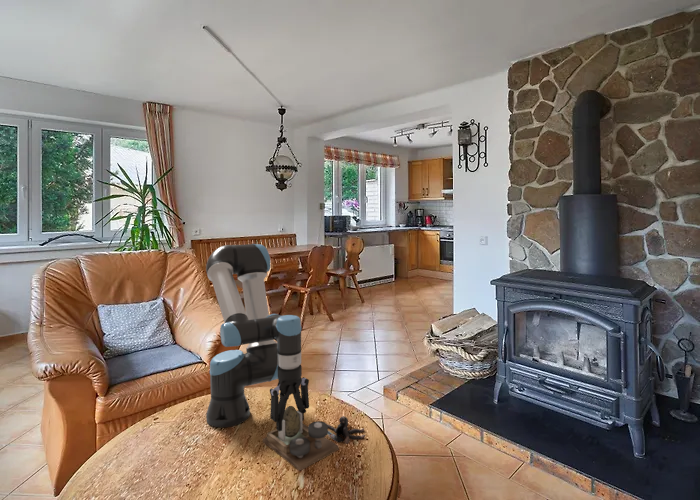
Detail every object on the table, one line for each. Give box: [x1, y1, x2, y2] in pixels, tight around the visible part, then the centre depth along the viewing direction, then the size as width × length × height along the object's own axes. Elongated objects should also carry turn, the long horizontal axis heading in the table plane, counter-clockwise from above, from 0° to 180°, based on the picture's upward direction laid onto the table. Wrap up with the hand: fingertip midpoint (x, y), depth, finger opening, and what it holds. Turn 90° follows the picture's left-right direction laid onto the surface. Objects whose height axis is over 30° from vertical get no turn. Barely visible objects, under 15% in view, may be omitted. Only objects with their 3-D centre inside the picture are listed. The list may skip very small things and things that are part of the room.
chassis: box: [262, 422, 340, 471], centre depth 125 cm, size 20×15×6 cm
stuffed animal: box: [326, 415, 366, 444], centre depth 133 cm, size 12×10×12 cm
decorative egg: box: [283, 405, 300, 437], centre depth 126 cm, size 6×6×10 cm
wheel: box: [307, 420, 329, 438], centre depth 122 cm, size 6×6×3 cm
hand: (290, 435), depth 127 cm, fingers closed on decorative egg, 6 cm apart
